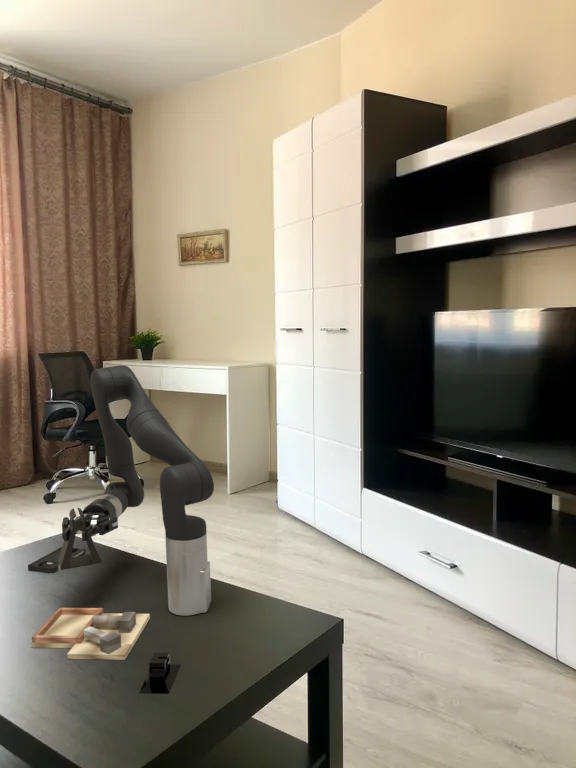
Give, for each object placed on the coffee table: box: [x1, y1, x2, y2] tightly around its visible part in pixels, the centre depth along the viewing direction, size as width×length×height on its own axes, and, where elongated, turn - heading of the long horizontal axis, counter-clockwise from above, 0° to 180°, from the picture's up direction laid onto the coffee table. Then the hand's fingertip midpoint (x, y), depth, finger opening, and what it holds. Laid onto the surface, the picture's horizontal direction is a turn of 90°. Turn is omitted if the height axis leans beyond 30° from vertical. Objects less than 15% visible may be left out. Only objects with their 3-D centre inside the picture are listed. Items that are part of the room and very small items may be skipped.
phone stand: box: [58, 507, 103, 571], centre depth 142 cm, size 9×6×12 cm, turn 114°
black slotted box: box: [138, 652, 182, 695], centre depth 113 cm, size 12×7×5 cm, turn 177°
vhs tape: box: [27, 546, 86, 575], centre depth 171 cm, size 14×8×2 cm, turn 163°
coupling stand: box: [30, 607, 151, 661], centre depth 129 cm, size 21×17×4 cm
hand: (74, 536), depth 139 cm, fingers closed on phone stand, 3 cm apart
